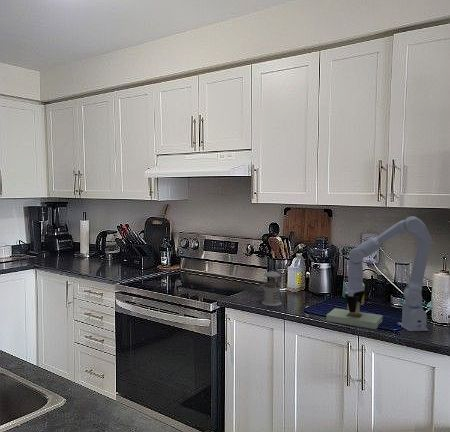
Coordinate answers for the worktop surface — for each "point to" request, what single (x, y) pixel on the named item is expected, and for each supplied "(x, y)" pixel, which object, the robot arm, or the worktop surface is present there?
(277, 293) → the french press
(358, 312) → the tall dowel
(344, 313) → the hole board
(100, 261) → the worktop surface
